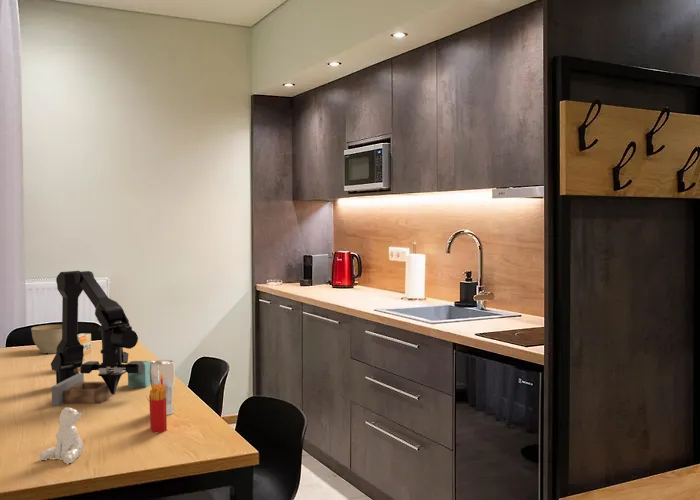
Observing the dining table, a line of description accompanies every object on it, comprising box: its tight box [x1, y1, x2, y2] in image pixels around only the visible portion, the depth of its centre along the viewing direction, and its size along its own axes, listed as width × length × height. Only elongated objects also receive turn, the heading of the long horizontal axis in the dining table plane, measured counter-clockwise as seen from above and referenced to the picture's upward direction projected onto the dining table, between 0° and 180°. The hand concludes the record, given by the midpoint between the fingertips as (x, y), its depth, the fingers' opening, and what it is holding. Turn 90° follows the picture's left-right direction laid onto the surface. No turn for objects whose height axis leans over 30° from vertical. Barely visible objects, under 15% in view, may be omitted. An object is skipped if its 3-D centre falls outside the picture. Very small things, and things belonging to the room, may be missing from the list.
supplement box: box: [78, 333, 93, 372], centre depth 269 cm, size 8×5×13 cm, turn 168°
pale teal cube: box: [127, 360, 152, 389], centre depth 240 cm, size 6×6×8 cm
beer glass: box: [150, 359, 176, 416], centre depth 206 cm, size 7×7×15 cm
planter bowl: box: [30, 324, 62, 354], centre depth 305 cm, size 16×16×11 cm
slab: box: [51, 373, 85, 407], centre depth 224 cm, size 2×18×6 cm, turn 177°
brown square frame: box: [63, 381, 115, 404], centre depth 224 cm, size 12×12×4 cm
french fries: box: [148, 384, 168, 433], centre depth 190 cm, size 8×4×12 cm, turn 23°
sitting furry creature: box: [38, 406, 84, 464], centre depth 169 cm, size 10×9×12 cm
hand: (113, 394), depth 223 cm, fingers closed
